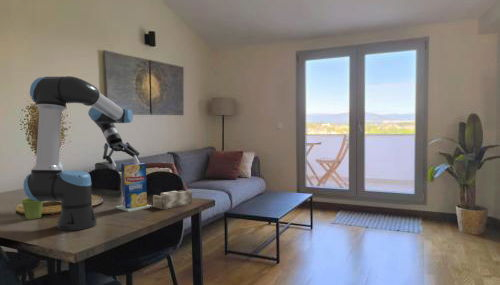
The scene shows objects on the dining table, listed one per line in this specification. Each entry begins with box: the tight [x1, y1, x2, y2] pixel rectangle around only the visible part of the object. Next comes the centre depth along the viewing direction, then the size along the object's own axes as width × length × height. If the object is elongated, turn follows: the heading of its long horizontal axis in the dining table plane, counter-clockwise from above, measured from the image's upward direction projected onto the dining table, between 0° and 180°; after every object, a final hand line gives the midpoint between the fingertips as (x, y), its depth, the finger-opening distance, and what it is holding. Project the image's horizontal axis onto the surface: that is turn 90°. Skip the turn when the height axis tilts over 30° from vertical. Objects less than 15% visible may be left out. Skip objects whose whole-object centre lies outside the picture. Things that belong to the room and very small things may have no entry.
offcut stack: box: [159, 190, 179, 196], centre depth 192 cm, size 12×5×6 cm, turn 138°
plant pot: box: [20, 197, 45, 220], centre depth 167 cm, size 9×9×9 cm
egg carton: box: [152, 190, 193, 210], centre depth 191 cm, size 18×10×7 cm, turn 138°
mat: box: [115, 204, 153, 213], centre depth 186 cm, size 13×13×1 cm
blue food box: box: [120, 162, 148, 208], centre depth 186 cm, size 7×11×22 cm, turn 122°
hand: (127, 166), depth 191 cm, fingers open, 13 cm apart
